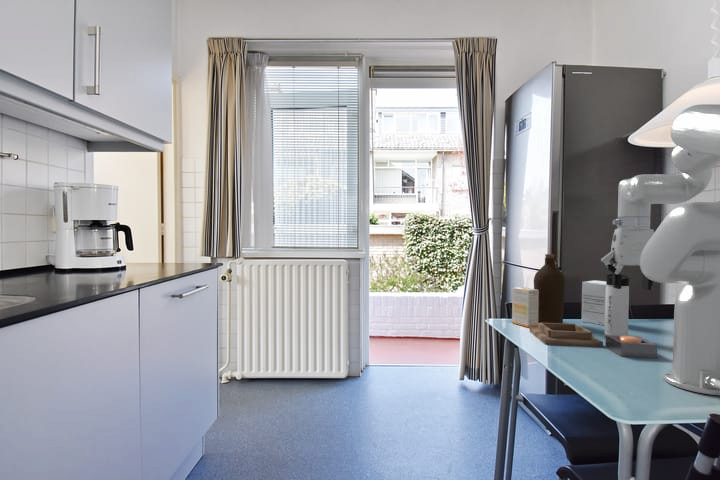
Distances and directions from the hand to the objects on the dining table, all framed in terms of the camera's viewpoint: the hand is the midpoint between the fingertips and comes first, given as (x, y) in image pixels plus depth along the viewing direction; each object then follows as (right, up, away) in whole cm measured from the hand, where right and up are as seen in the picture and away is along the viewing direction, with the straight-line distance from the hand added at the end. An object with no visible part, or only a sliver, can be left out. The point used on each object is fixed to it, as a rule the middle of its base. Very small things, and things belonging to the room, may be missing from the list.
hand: (631, 288), depth 117 cm
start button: (0, -16, 0) cm, 16 cm away
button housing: (0, -18, 0) cm, 18 cm away
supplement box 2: (+14, -17, +40) cm, 46 cm away
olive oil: (-6, -17, +38) cm, 42 cm away
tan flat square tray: (-12, -17, +15) cm, 26 cm away
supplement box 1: (-16, -17, +34) cm, 41 cm away
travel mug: (+6, -18, +17) cm, 25 cm away
